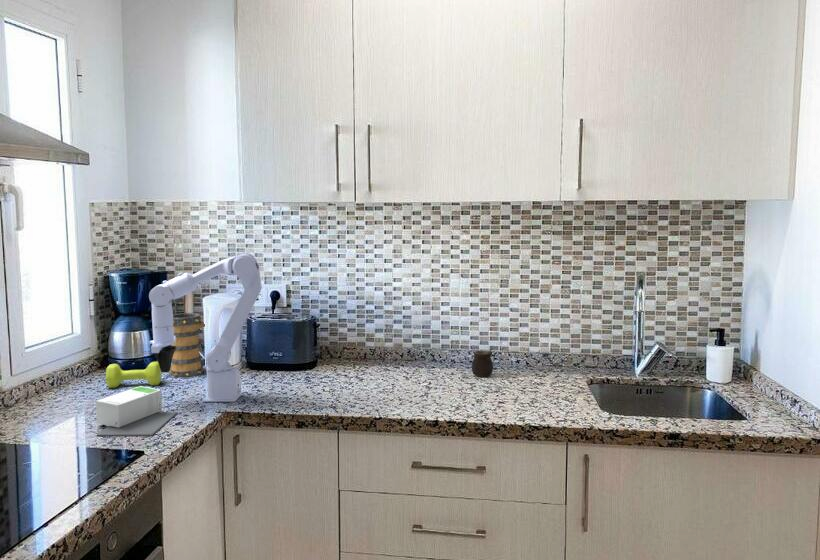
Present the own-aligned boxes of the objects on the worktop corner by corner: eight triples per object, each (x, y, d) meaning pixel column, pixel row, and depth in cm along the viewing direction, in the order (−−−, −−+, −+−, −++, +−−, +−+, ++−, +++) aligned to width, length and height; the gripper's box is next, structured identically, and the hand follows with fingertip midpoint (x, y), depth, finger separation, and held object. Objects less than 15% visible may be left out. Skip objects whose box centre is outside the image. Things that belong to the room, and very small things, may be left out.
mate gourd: (474, 372, 232) (474, 343, 231) (496, 374, 230) (496, 344, 229) (468, 377, 226) (468, 347, 224) (491, 379, 223) (491, 349, 222)
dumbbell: (163, 380, 226) (162, 359, 225) (159, 387, 219) (158, 365, 218) (110, 383, 223) (109, 362, 222) (104, 390, 216) (102, 368, 215)
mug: (166, 370, 239) (163, 313, 236) (218, 366, 244) (215, 310, 242) (167, 380, 227) (163, 320, 224) (221, 374, 232) (218, 316, 230)
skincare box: (162, 389, 192) (119, 404, 177) (162, 412, 192) (119, 429, 178) (139, 385, 195) (94, 399, 180) (139, 408, 196) (95, 424, 181)
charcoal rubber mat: (177, 413, 192) (177, 411, 192) (152, 435, 174) (151, 434, 174) (127, 413, 192) (127, 412, 192) (96, 436, 174) (96, 434, 174)
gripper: (158, 321, 208) (161, 365, 209) (139, 331, 193) (142, 378, 195) (181, 321, 207) (184, 365, 209) (164, 330, 193) (167, 378, 195)
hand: (165, 371), depth 202 cm, fingers closed
